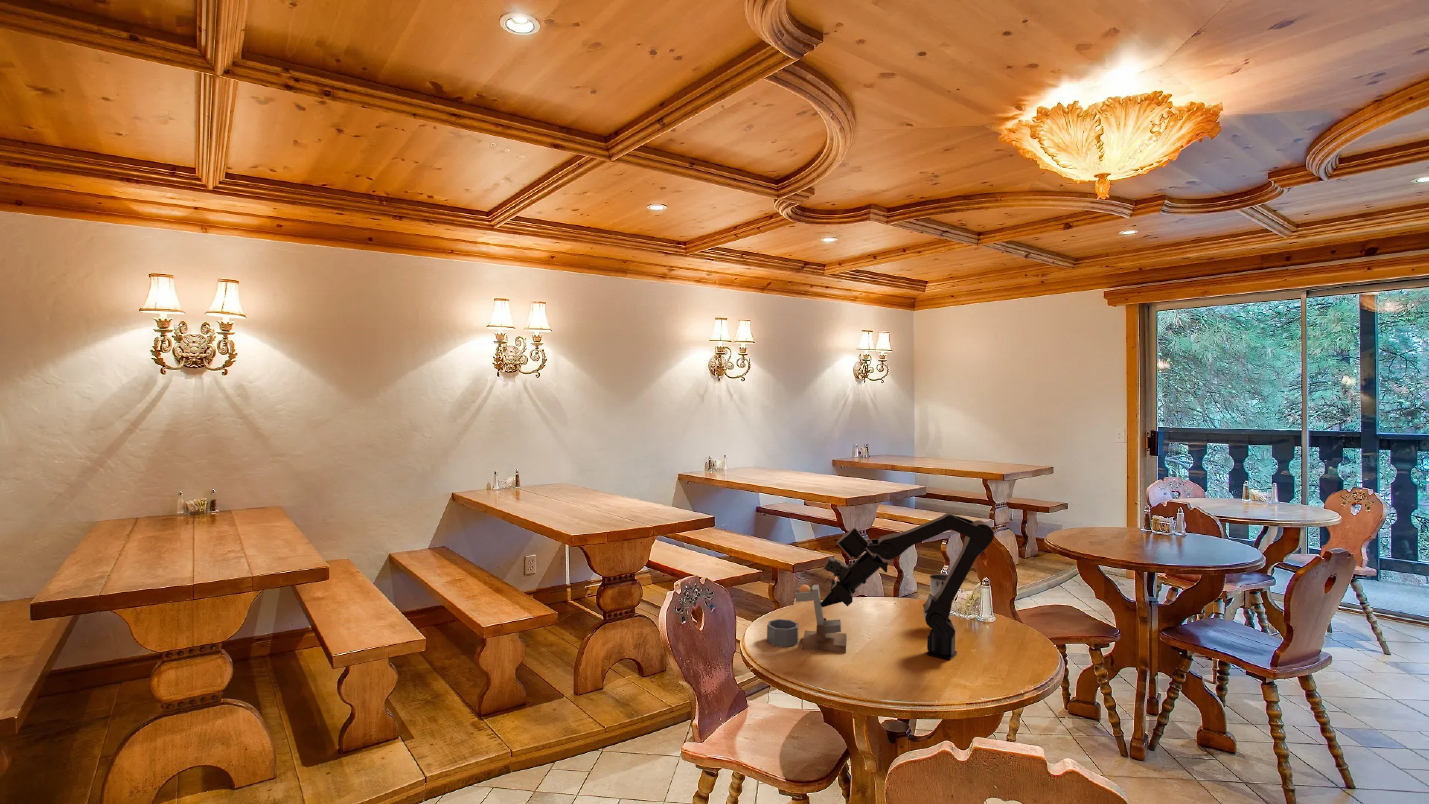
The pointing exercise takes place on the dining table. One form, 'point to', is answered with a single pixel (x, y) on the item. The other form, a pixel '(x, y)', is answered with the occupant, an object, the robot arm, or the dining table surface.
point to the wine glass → (937, 582)
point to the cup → (782, 632)
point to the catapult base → (824, 640)
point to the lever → (818, 609)
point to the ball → (804, 588)
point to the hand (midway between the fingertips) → (821, 605)
